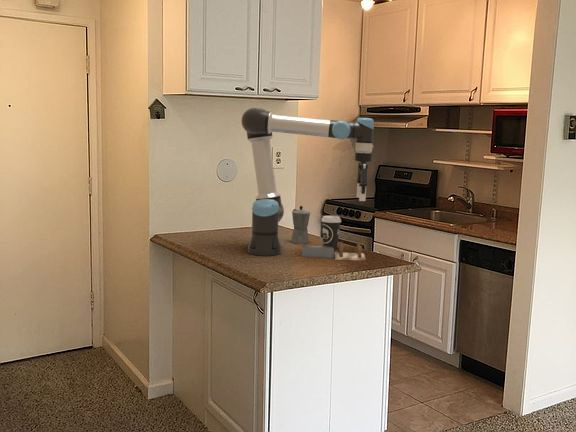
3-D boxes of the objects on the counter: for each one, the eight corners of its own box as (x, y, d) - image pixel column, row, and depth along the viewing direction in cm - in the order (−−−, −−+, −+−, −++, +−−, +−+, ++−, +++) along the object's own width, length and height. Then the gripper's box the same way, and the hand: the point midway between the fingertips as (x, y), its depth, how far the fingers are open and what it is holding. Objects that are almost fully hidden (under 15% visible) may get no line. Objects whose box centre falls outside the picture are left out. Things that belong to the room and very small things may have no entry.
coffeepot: (314, 243, 303) (315, 207, 300) (297, 245, 299) (298, 208, 296) (300, 238, 317) (301, 203, 314) (284, 239, 313) (284, 204, 310)
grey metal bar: (302, 256, 272) (302, 247, 271) (302, 254, 276) (302, 245, 276) (333, 258, 271) (333, 248, 271) (333, 255, 276) (333, 246, 275)
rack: (335, 259, 268) (335, 245, 267) (334, 254, 279) (334, 241, 278) (365, 260, 268) (366, 246, 267) (363, 255, 279) (364, 242, 278)
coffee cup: (339, 250, 288) (340, 218, 286) (318, 249, 290) (319, 217, 288) (341, 246, 297) (342, 216, 295) (321, 245, 299) (322, 214, 297)
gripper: (375, 154, 268) (372, 202, 271) (368, 151, 292) (366, 196, 296) (358, 153, 268) (355, 202, 271) (353, 151, 293) (350, 195, 296)
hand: (360, 199), depth 283 cm, fingers open, 13 cm apart
